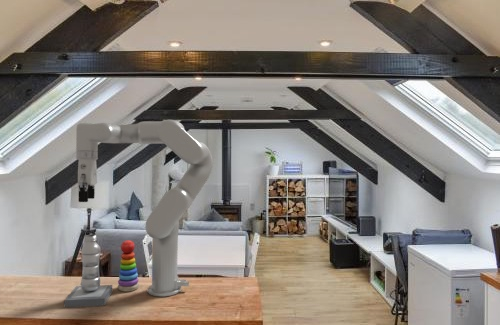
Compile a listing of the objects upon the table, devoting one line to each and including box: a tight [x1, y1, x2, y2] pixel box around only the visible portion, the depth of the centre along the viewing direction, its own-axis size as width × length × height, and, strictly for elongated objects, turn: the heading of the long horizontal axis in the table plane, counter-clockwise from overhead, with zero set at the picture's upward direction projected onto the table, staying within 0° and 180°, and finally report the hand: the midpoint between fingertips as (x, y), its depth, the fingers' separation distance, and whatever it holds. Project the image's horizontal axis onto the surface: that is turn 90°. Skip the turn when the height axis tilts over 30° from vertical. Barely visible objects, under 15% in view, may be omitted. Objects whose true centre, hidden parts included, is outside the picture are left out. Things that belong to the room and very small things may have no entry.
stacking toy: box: [117, 239, 140, 292], centre depth 145 cm, size 8×8×19 cm
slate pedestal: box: [64, 284, 113, 308], centre depth 134 cm, size 13×13×3 cm
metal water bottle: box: [80, 234, 102, 292], centre depth 135 cm, size 6×7×20 cm
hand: (86, 200), depth 143 cm, fingers open, 9 cm apart
